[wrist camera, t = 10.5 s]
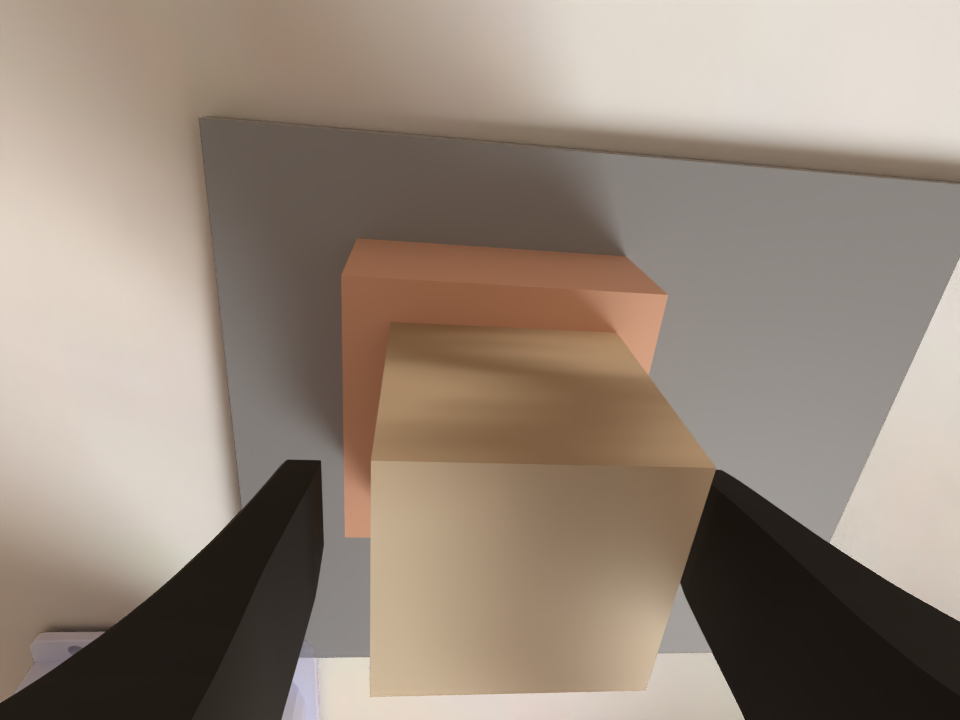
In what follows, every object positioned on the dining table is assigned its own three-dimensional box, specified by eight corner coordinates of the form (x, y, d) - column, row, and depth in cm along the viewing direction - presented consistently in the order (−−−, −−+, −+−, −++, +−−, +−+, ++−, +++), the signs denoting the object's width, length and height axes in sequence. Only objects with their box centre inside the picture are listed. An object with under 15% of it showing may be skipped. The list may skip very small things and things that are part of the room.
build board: (262, 643, 21) (233, 744, 18) (207, 116, 14) (140, 129, 10) (771, 638, 24) (825, 727, 21) (972, 183, 16) (1111, 211, 13)
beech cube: (387, 506, 15) (369, 697, 10) (390, 321, 12) (371, 460, 8) (581, 508, 15) (646, 690, 11) (617, 332, 13) (716, 468, 9)
